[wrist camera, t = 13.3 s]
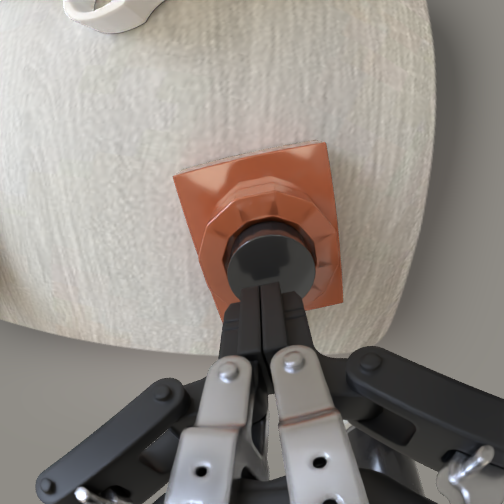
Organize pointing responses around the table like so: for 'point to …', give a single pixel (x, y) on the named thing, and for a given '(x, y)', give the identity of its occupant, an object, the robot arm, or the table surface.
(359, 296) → the table surface
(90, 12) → the white brass knuckles
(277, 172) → the button base
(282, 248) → the dark grey short cylinder
